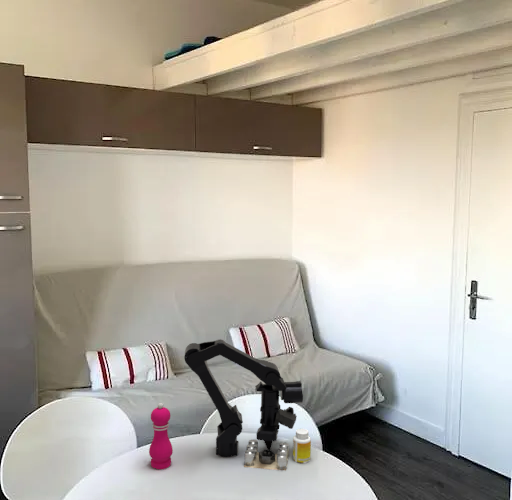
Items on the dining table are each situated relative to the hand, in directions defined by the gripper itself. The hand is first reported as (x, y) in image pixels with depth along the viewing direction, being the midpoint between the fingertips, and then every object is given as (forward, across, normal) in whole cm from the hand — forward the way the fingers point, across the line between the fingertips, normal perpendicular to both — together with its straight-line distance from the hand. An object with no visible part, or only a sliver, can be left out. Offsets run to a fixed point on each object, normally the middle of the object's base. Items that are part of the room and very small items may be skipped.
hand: (269, 449), depth 187 cm
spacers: (+1, -6, 0) cm, 6 cm away
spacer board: (+2, -8, 0) cm, 8 cm away
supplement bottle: (+2, -3, -11) cm, 11 cm away
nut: (+1, -6, 0) cm, 6 cm away
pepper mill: (+2, -12, +33) cm, 35 cm away
